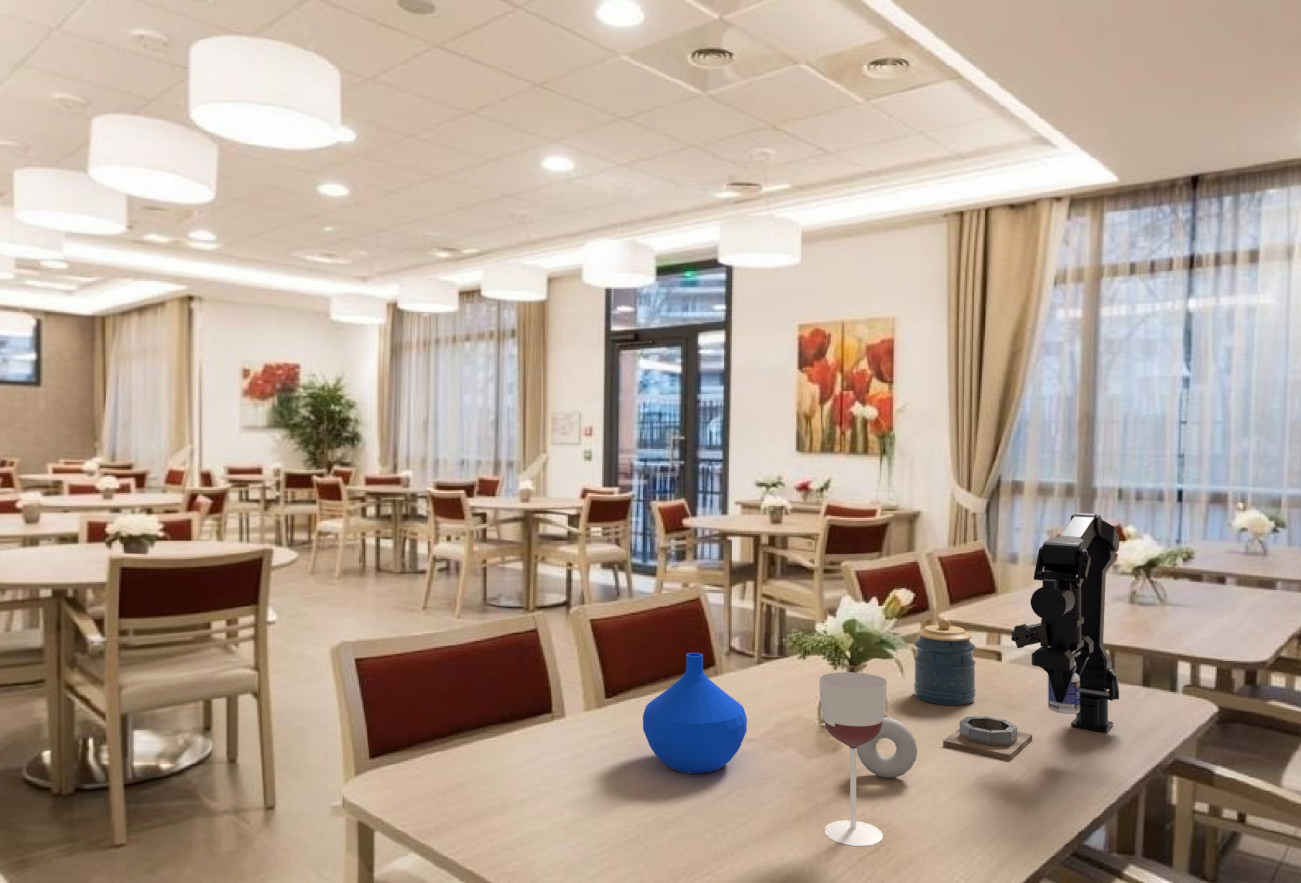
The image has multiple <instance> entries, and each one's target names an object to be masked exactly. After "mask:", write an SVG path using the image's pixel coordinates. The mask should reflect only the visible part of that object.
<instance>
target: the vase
mask: <svg viewBox="0 0 1301 883" xmlns="http://www.w3.org/2000/svg"><path fill="white" fill-rule="evenodd" d="M685 656H686V659H685V660H686V662H685V663H686V664H685V666H686V667H685V672H684V673H683V675H682V676H681V677H680V678H679V679H678V680H676V681H675V683H673V684H672V685H671V686H669V687H668V688H667V689H666V690H664V691H663V692H661V693H660V694H659V695H658V696H656V697H655V698H654V699H652V700H651V701H649V702H648V703H647V704H646V706H645V708H644V712H643V716H642V730H643V733H644V735H645V737H646V740H647V742H648V746H649V748H650V749H651V750H652V752H653V753H654V755H655V756H656V757H657V758H658V760H659V761H661V763H663V764H665V765H666V766H667V767H668V766H669V767H668V768H670V769H671V768H673V769H672V770H674V769H675V771H676V770H679V771H678V772H680V771H682V772H681V773H685V772H690V773H689V774H705V773H704V772H707V773H711V772H710V771H712V772H715V771H718V770H720V769H721V768H723V767H724V766H725V765H726V764H728V763H729V762H731V760H732V759H733V758H734V757H735V756H736V754H737V752H738V751H739V750H740V749H741V746H742V743H743V741H744V738H745V735H746V733H747V731H748V730H747V728H748V727H747V725H748V718H747V717H748V716H747V713H746V711H745V709H744V706H743V705H742V704H741V703H739V701H737V700H736V699H735V698H734V697H732V696H731V695H729V694H728V693H727V692H725V691H724V690H723V689H721V688H720V686H718V685H717V684H715V683H714V682H713V681H712V680H711V679H709V677H708V676H707V674H705V672H704V653H703V654H702V653H700V652H689V653H686V655H685ZM717 769H718V770H717Z"/></svg>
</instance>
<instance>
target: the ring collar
mask: <svg viewBox="0 0 1301 883" xmlns="http://www.w3.org/2000/svg"><path fill="white" fill-rule="evenodd" d="M959 729H960V736H962V737H963V738H964V739H966V740H967V741H969V742H972V743H977V744H982V745H986V746H1011V745H1012V744H1013V743H1015V742H1016V741H1017V731H1018V726H1017V725H1015V724H1014V723H1012V722H1011V721H1009V720H1007V719H1002V718H997V717H993V716H987V715H981V716H980V715H979V716H966V717H964V718H962V719H961V720H960V721H959Z"/></svg>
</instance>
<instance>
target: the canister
mask: <svg viewBox="0 0 1301 883" xmlns="http://www.w3.org/2000/svg"><path fill="white" fill-rule="evenodd" d="M917 634H918V636H919V637H918V638H917V639H916V640H915V641H914V642H913V645H914V647H915V648H916V651H915V655H916V657H915V655H914V657H913V660H914V683H913V686H914V687H913V690H914V694H915V697H916V698H918V699H919V700H922V701H924V702H926V703H931V704H935V705H943V706H963V705H968V704H972V703H973V702H974V701H975V699H976V698H975V697H976V695H977V694H976V692H977V691H976V690H977V689H976V680H975V679H976V678H975V677H976V676H975V674H976V670H975V668H976V660H975V659H974V651H975V650H976V645H975V644H974V643H972V642H971V641H970V639H971V638H972V634H971V633H969V632H967V631H966V630H965V629H964V628H962V627H959V626H955V625H951V621H950V619H948V618H945V617H942V618H940V619H939V620H938V622H937V624H931V625H926V626H924V627H923V628H922V629H920V630H919V631H917Z"/></svg>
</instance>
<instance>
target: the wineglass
mask: <svg viewBox="0 0 1301 883" xmlns="http://www.w3.org/2000/svg"><path fill="white" fill-rule="evenodd" d="M887 689H888V681H887V680H886V679H885V678H883V677H881V676H879V675H876V674H875V675H874V674H870V673H863V672H853V671H852V672H850V671H848V672H844V671H843V672H841V671H840V672H832V673H827V674H823V675H821V676H819V698H820V705H821V710H822V717H823V722H824V724H825V725H824V726H825V729H826V730H827V732H828V733H829V734H830V735H831V737H832V738H834V739H836V740H837V741H838V742H840V743H842V744H845V745H846V746H848V747H849V752H850V753H849V754H850V755H849V762H850V763H849V764H850V765H849V767H850V768H849V770H850V771H849V775H850V776H849V780H850V782H849V784H850V785H849V787H850V788H849V790H850V791H849V793H850V795H849V796H850V800H849V802H850V803H849V804H850V805H849V808H850V809H849V813H850V814H849V817H850V818H849V820H844V819H843V820H837V821H833V822H830V823H829V824H827V825H826V826H825V827H824V829H825V828H826V829H825V831H824V830H823V831H824V834H825V835H826V837H828V839H831V840H832V841H834V842H836V843H840V844H843V845H848V846H854V847H855V846H856V847H864V846H873V845H876V844H878V843H880V841H882V840H883V837H884V835H883V832H882V830H880V829H879V828H878V827H876V826H875V825H872V824H871V823H867V822H863V821H860V820H859V821H857V747H858V746H860V745H862V744H865V743H867V742H869V741H871V740H872V739H874V738H875V737H876V736H877V735H878V734H879V732H880V730H881V727H882V723H883V717H885V711H886V704H887V703H886V702H887V691H888V690H887Z"/></svg>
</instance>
